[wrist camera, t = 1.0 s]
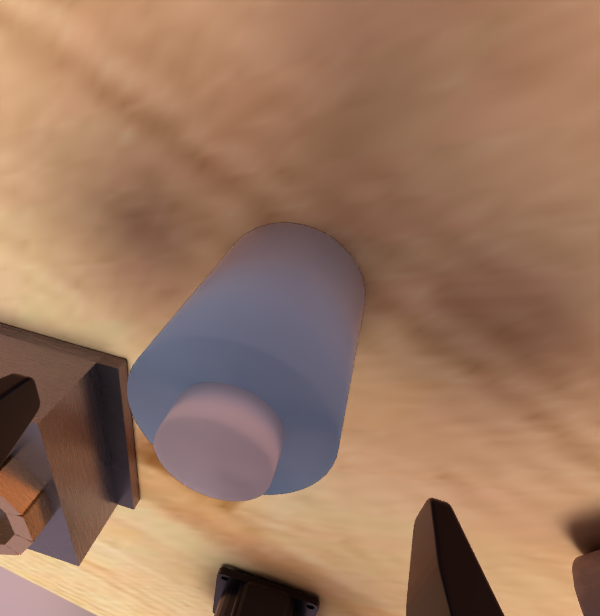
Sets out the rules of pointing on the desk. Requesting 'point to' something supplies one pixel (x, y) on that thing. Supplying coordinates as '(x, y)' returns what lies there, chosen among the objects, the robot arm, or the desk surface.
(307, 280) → the light blue tapered cylinder
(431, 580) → the robot arm
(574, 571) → the pipe fitting
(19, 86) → the desk surface
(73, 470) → the grey square ring base
